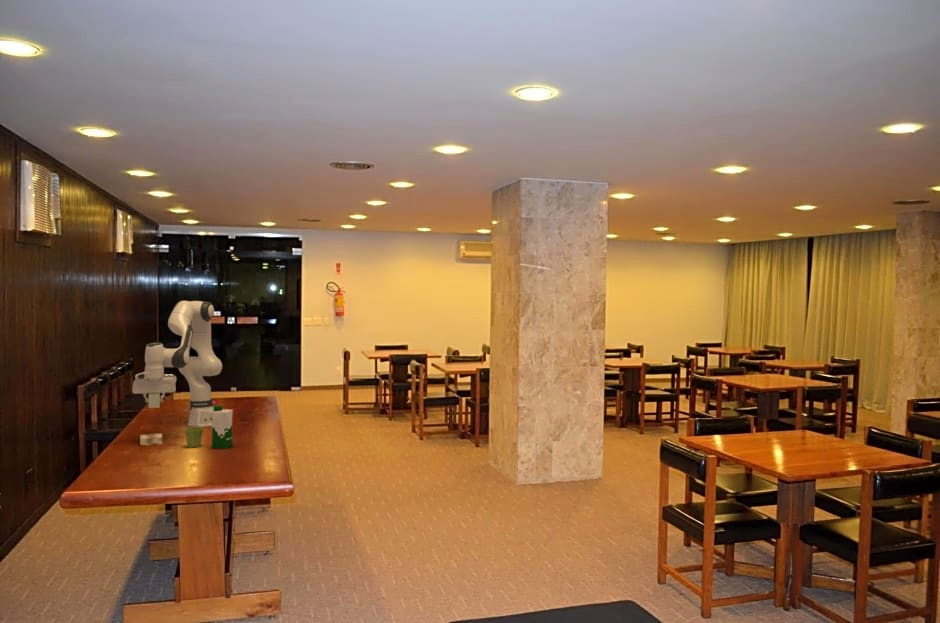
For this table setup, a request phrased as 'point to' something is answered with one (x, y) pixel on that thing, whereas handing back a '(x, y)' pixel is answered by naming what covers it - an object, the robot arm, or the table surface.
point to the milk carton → (221, 427)
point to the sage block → (154, 400)
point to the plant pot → (193, 436)
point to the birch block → (151, 439)
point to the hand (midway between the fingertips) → (154, 402)
